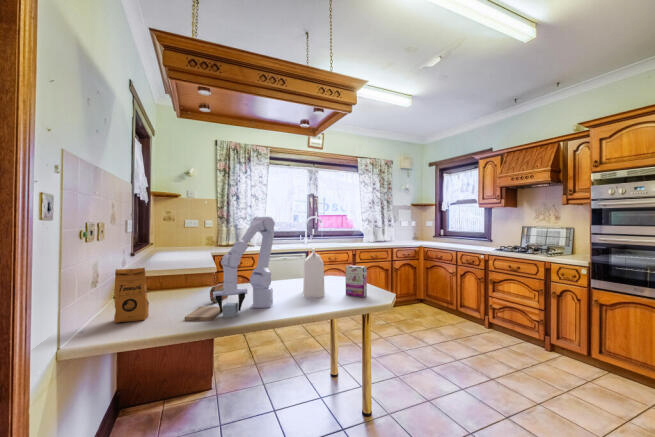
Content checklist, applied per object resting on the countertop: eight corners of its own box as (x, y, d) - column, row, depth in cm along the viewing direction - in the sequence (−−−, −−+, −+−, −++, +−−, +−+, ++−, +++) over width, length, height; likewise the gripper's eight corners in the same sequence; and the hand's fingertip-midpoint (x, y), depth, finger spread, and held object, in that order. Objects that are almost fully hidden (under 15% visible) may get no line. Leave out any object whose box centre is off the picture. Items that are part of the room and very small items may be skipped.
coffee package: (146, 321, 120) (146, 269, 120) (110, 325, 116) (110, 271, 116) (151, 314, 129) (151, 265, 129) (118, 317, 125) (118, 267, 125)
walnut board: (225, 310, 135) (225, 306, 135) (212, 320, 121) (212, 317, 121) (199, 310, 135) (199, 306, 135) (184, 320, 121) (184, 317, 121)
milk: (303, 291, 169) (303, 247, 169) (322, 291, 170) (322, 247, 170) (303, 297, 157) (303, 249, 157) (324, 296, 158) (324, 249, 158)
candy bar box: (367, 295, 160) (367, 266, 160) (363, 297, 156) (363, 267, 156) (349, 293, 165) (348, 264, 165) (345, 295, 161) (345, 265, 161)
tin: (214, 304, 145) (214, 287, 145) (208, 304, 145) (208, 287, 145) (230, 296, 159) (230, 281, 159) (224, 296, 160) (224, 281, 160)
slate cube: (237, 313, 131) (237, 302, 131) (234, 317, 126) (234, 305, 126) (226, 313, 131) (226, 302, 131) (222, 317, 126) (222, 305, 126)
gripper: (245, 278, 135) (245, 307, 135) (212, 280, 129) (212, 311, 129) (248, 280, 128) (248, 311, 128) (213, 283, 122) (213, 315, 122)
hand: (230, 311), depth 128 cm, fingers open, 7 cm apart
